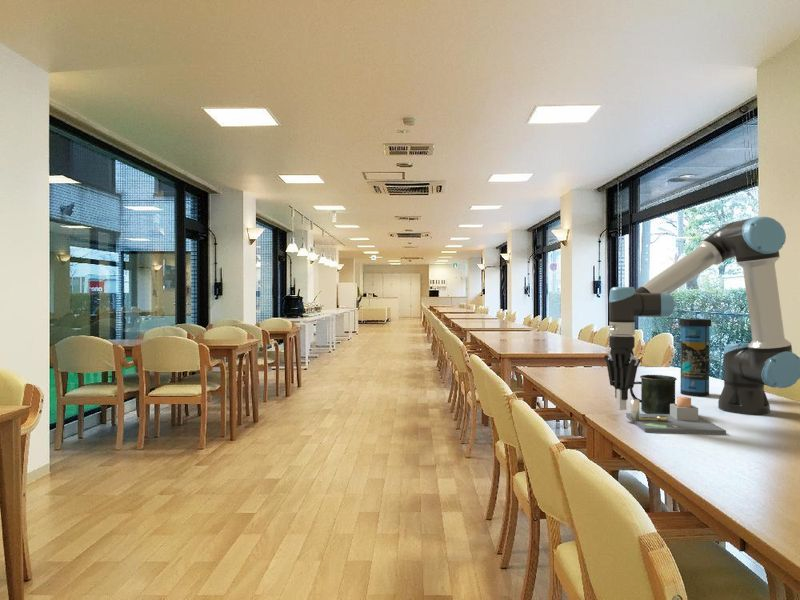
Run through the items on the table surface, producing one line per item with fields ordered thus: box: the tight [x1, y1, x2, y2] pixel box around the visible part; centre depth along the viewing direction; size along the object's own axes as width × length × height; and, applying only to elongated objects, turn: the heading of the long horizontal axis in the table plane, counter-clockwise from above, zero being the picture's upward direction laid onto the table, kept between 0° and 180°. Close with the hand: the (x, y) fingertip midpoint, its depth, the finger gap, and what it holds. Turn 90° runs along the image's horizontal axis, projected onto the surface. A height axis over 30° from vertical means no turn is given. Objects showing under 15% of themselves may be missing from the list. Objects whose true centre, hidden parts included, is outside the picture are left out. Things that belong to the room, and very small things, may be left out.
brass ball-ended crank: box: [630, 398, 668, 421], centre depth 169 cm, size 11×3×6 cm, turn 82°
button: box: [676, 396, 692, 408], centre depth 172 cm, size 4×4×5 cm
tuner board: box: [625, 403, 727, 436], centre depth 168 cm, size 22×20×5 cm
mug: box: [629, 374, 677, 414], centre depth 187 cm, size 11×15×12 cm
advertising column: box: [678, 317, 712, 398], centre depth 219 cm, size 11×11×30 cm
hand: (621, 409), depth 174 cm, fingers closed
